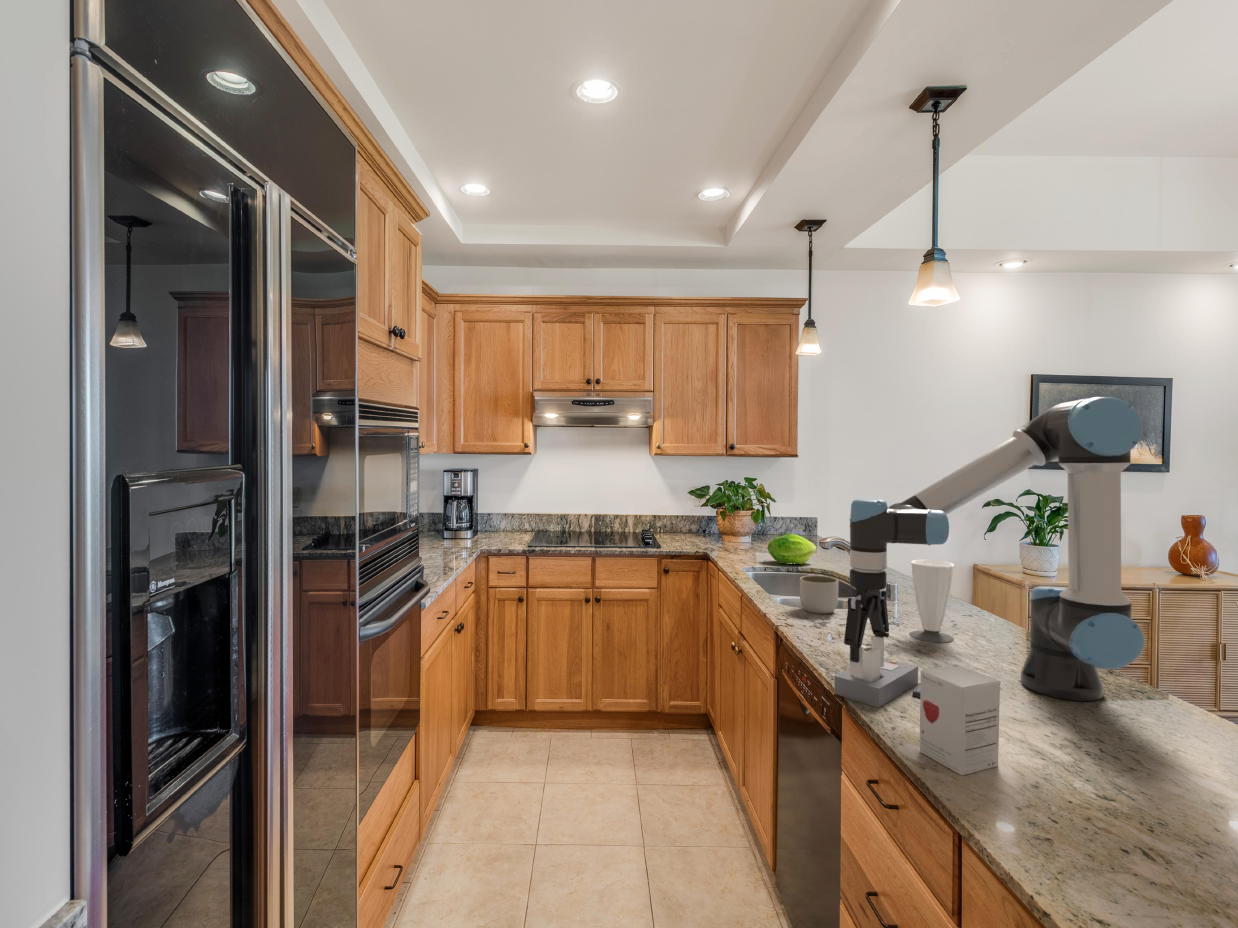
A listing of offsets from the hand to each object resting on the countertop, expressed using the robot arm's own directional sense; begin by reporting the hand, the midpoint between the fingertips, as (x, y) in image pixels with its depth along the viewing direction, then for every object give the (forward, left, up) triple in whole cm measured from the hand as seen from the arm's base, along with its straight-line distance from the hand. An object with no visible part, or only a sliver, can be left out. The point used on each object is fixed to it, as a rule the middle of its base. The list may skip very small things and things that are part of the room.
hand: (867, 670), depth 135 cm
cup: (+7, -55, -6) cm, 56 cm away
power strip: (0, -5, -5) cm, 7 cm away
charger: (0, 0, -4) cm, 4 cm away
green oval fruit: (+98, -127, -6) cm, 161 cm away
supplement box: (-24, +16, -6) cm, 29 cm away
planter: (+44, -57, -6) cm, 72 cm away
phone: (-13, -11, -5) cm, 18 cm away
